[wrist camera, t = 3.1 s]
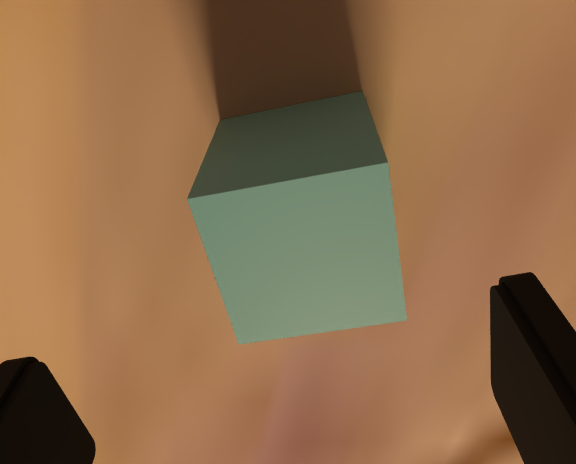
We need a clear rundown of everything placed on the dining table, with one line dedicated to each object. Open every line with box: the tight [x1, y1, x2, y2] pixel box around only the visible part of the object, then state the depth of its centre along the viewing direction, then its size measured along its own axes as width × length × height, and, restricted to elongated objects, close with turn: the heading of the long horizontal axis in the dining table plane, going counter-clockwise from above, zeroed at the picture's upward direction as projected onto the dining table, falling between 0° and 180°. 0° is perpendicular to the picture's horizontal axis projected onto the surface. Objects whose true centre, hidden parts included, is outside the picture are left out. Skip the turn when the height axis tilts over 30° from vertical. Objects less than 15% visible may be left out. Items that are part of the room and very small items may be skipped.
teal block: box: [187, 91, 407, 344], centre depth 16 cm, size 5×5×6 cm
